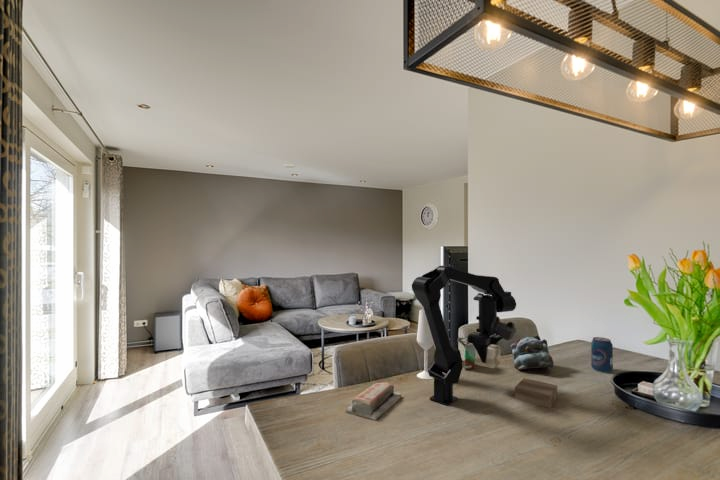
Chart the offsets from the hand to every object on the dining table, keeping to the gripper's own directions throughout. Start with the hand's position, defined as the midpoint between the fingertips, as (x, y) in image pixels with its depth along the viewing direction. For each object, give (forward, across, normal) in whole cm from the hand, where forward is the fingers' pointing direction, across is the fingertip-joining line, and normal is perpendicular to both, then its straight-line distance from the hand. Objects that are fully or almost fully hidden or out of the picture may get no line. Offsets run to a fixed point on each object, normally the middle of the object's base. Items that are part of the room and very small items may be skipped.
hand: (487, 360), depth 121 cm
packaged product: (+10, -34, +21) cm, 41 cm away
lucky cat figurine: (+10, +31, -4) cm, 33 cm away
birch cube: (+1, 0, 0) cm, 1 cm away
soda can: (+10, +48, -25) cm, 55 cm away
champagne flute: (+10, -3, +22) cm, 24 cm away
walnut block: (+10, +4, -14) cm, 18 cm away
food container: (+10, +18, +15) cm, 25 cm away
